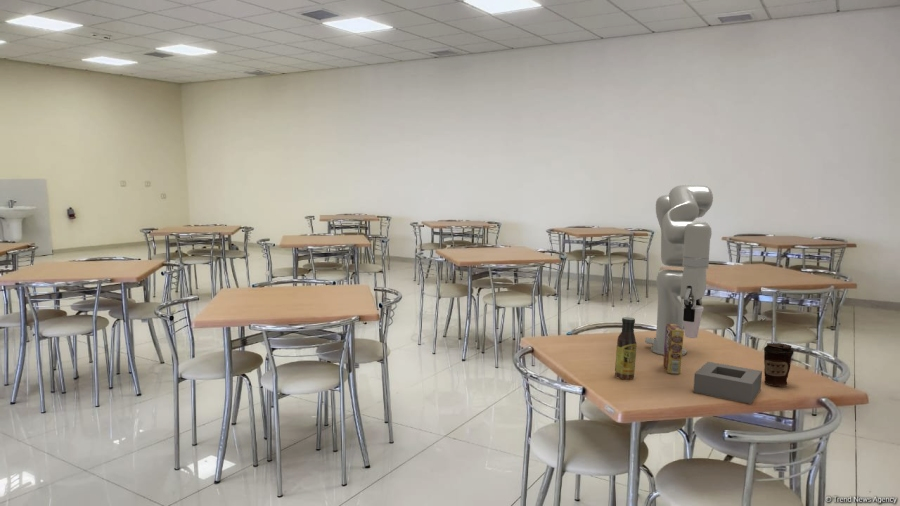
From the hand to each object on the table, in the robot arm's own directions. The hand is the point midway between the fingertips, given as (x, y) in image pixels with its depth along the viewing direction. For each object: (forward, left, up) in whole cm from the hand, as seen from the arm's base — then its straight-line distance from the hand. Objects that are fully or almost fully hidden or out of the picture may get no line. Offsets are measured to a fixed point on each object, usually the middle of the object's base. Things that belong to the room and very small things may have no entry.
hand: (692, 318), depth 187 cm
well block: (+11, +2, -22) cm, 24 cm away
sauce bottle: (-19, -5, -22) cm, 29 cm away
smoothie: (0, 0, -6) cm, 6 cm away
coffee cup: (+22, +19, -22) cm, 36 cm away
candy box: (-9, +13, -22) cm, 27 cm away
